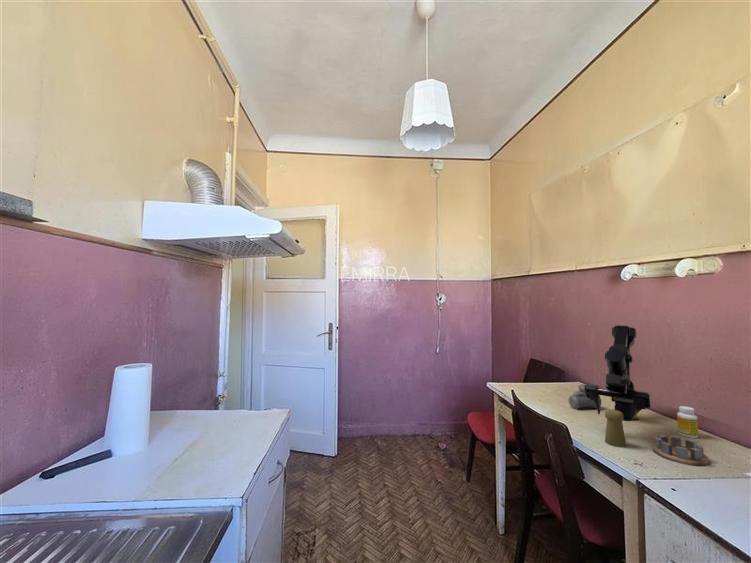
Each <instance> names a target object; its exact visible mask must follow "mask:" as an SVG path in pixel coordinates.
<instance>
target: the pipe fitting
mask: <svg viewBox="0 0 751 563" xmlns="http://www.w3.org/2000/svg"><path fill="white" fill-rule="evenodd" d="M585 385H586V384H579V385H578V390H577V391H574V392H573V394H571V395H569V396H568V398H567V399H568V404H569V405H570V407H571V408H573V410H579V409H582V408H583V409H584V408H588V407H589V408H591V409H597V407H596V405H595V403H594V401H592V400H590V398H588V397H586V393H585ZM599 399H600V407H601V405H602V399H601V395H599Z"/></svg>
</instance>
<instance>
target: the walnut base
mask: <svg viewBox="0 0 751 563" xmlns="http://www.w3.org/2000/svg"><path fill="white" fill-rule="evenodd" d="M681 447H683V448H686V446H684V445H681ZM651 449H652V452H653V453H655V455H657V456H659V457H661V458H663V459H666V460H669V461H670V462H671V461H672V462H675V463H679V464H682V463H683V465H687V464H688V465H689V466H695V467H696V466H697V467H698V466H699V467H701V466H703V467H704V466H707V465H709V463H710V462H709V457H708V456H707V455H706V454H704V458H702V460H697V461H695V460H693V459H691V451H689V450H688V460H686V459H681V458H677V456H676V447H673V446H672V455H667V454H665V453H663V452H661V450H659V449H657V447H656V443H653V444H652V446H651Z"/></svg>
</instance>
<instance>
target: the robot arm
mask: <svg viewBox="0 0 751 563" xmlns="http://www.w3.org/2000/svg"><path fill="white" fill-rule="evenodd" d="M637 335H638V334H637V329H636V328H634V327H630V326H628V325H614V326H613V327H611V336H612V338H614V340H613V345H611V346H609V347H608V350H606V351H605V353H604V360H605V362H606V366H607V368H608V371H607V373H606V374H605V388H606V389H601V388H599V385H598V384H597V385H596V384H593V383H592V384H591V383H586V384H584V385H585V393H586V397H588V398H590V400H592V401H594V403H595V405H596V407H597V408H596V411H597V414H598V415H600V414H601V406H600V399H599V396H604V397H610V398H611V402H612V403H614V410H617V411H620V412H622V414H623V416H624V419H623V421H636V420H637V421H638V420H639V417H637V415H638V414H639V413H640V412H641V411H642V410H646V409H650V408H651V395H650V393H649V392H646V391H641V390H640V391H639V390H636V389H635V385H634V383H633V381H632V380H631V364H632V363H633V361H634V357H633V355H632V354H631V348H632V347H633V345H635V342H636V340H635V339H637Z"/></svg>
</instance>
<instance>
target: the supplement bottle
mask: <svg viewBox="0 0 751 563" xmlns="http://www.w3.org/2000/svg"><path fill="white" fill-rule="evenodd" d="M678 406H679V405H678ZM678 409H679V412H677V413H676V418H677V419H676V420H677V422H676V423H677V433H678V434H679V435H680V436H682V437H686V438H692V439H697V438H699V423H698V422H699V419H698V415H696V414H695V409H694V407H690V406H684V405H681V406H679V407H678Z"/></svg>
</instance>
